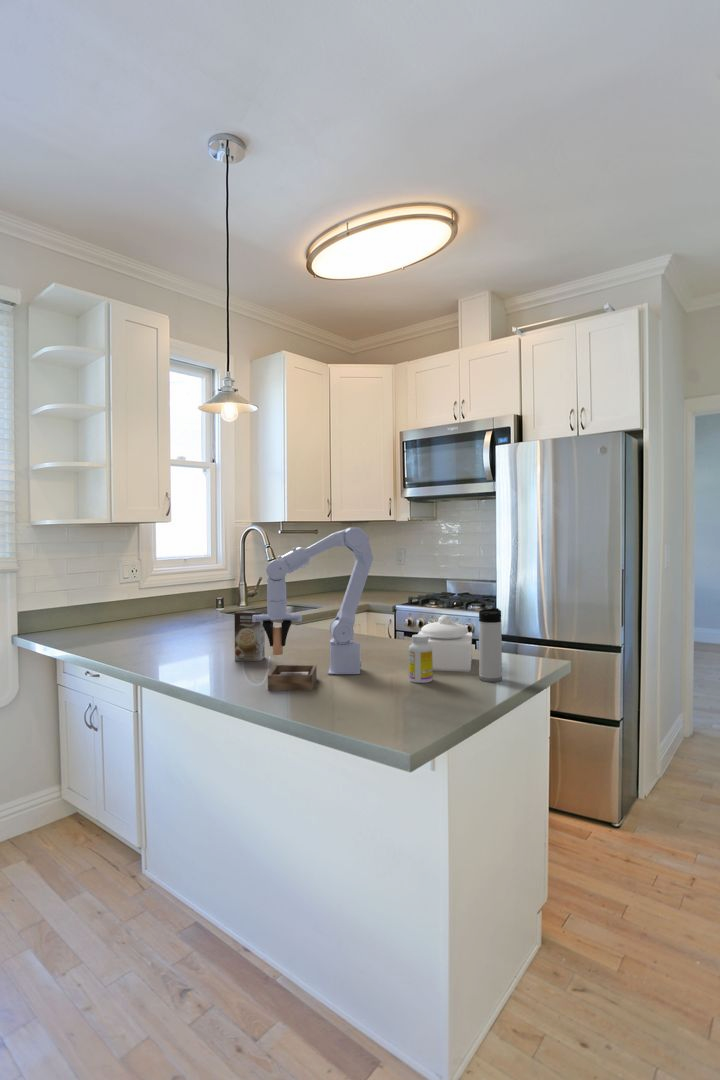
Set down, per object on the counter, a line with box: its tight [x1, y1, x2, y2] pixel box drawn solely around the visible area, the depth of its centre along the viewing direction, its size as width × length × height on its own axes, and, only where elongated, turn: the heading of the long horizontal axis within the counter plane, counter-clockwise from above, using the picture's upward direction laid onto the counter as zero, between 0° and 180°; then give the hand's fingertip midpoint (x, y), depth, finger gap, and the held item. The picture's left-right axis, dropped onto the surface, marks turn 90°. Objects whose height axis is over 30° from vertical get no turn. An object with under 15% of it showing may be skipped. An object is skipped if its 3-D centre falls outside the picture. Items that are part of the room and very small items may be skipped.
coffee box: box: [234, 609, 266, 662], centre depth 194 cm, size 9×6×16 cm
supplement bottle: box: [408, 633, 434, 684], centre depth 164 cm, size 7×7×13 cm
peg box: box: [267, 664, 318, 691], centre depth 162 cm, size 12×12×4 cm
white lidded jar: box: [411, 614, 473, 672], centre depth 184 cm, size 18×18×16 cm
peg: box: [272, 625, 284, 656], centre depth 172 cm, size 3×3×8 cm
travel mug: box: [478, 607, 503, 683], centre depth 164 cm, size 6×7×20 cm
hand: (277, 645), depth 172 cm, fingers closed on peg, 3 cm apart
